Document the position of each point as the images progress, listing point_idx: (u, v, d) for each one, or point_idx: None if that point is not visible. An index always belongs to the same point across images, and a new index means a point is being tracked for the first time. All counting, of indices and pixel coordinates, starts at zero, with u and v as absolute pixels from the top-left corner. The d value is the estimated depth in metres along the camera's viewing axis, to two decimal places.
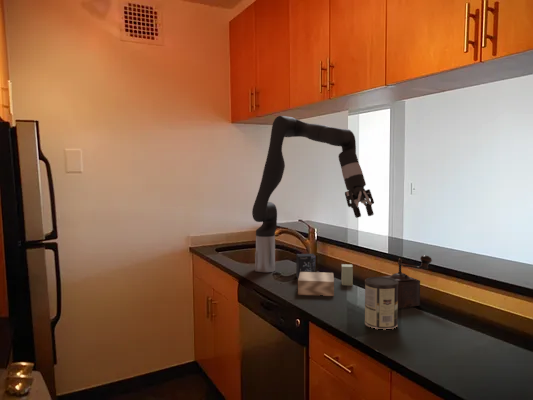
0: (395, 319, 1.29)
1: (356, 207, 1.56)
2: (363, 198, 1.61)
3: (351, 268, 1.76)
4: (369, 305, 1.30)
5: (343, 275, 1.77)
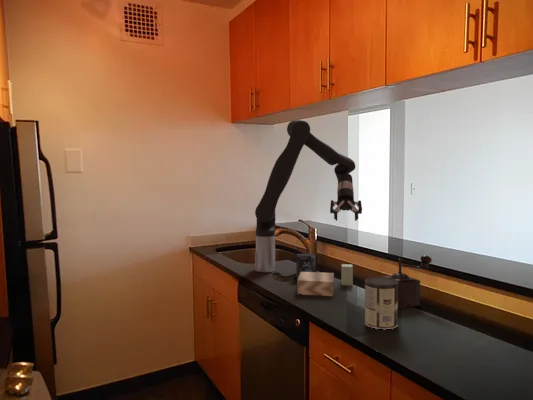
0: (395, 319, 1.29)
1: None
2: None
3: (351, 268, 1.76)
4: (369, 305, 1.30)
5: (343, 275, 1.77)
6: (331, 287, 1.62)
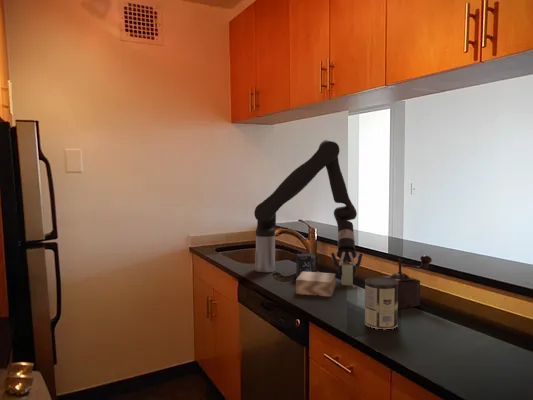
0: (395, 319, 1.29)
1: None
2: None
3: (351, 268, 1.76)
4: (369, 305, 1.30)
5: (343, 275, 1.77)
6: (329, 287, 1.61)
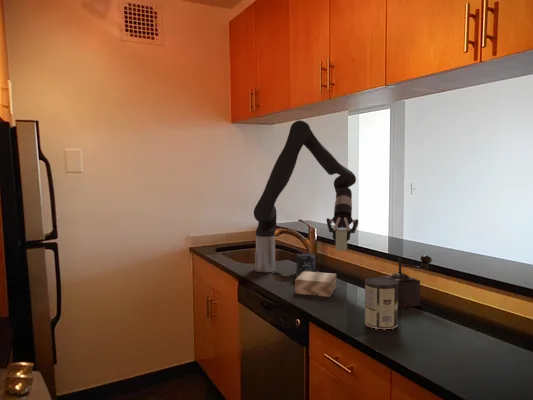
0: (395, 319, 1.29)
1: None
2: None
3: (345, 233, 1.72)
4: (369, 305, 1.30)
5: (337, 240, 1.73)
6: (328, 288, 1.61)
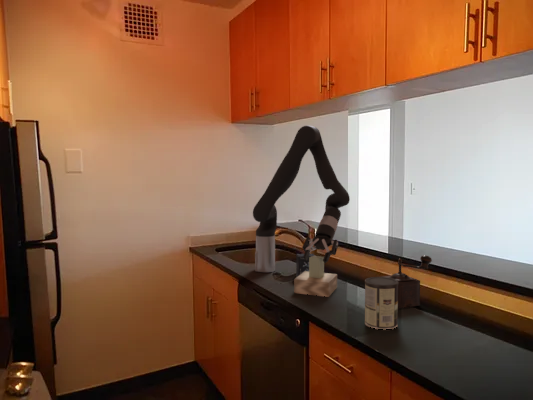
0: (395, 319, 1.29)
1: None
2: None
3: (318, 260, 1.66)
4: (369, 305, 1.30)
5: (310, 266, 1.68)
6: (326, 288, 1.61)
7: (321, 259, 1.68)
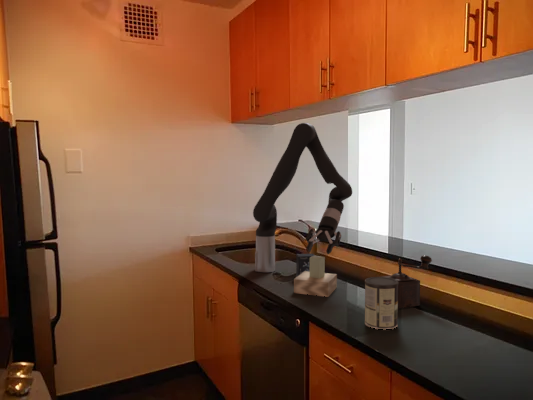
0: (395, 319, 1.29)
1: None
2: None
3: (318, 260, 1.66)
4: (369, 305, 1.30)
5: (310, 266, 1.69)
6: (326, 288, 1.61)
7: (321, 259, 1.68)
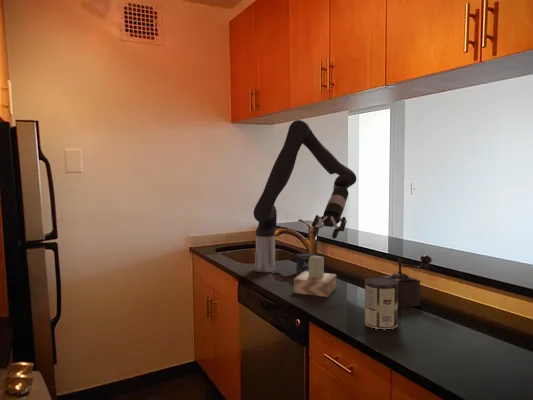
0: (395, 319, 1.29)
1: (337, 231, 1.74)
2: None
3: (317, 260, 1.66)
4: (369, 305, 1.30)
5: (310, 266, 1.69)
6: (326, 288, 1.61)
7: (321, 259, 1.68)
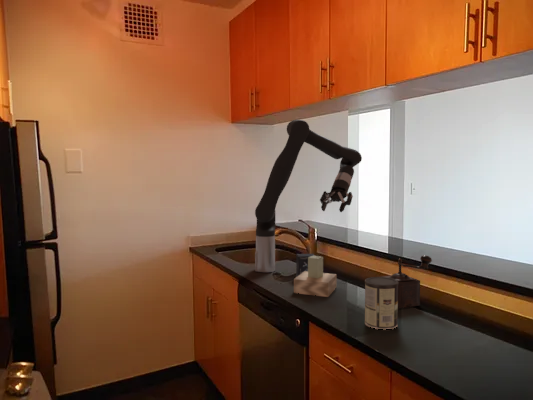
0: (395, 319, 1.29)
1: None
2: None
3: (316, 260, 1.67)
4: (369, 305, 1.30)
5: (309, 266, 1.69)
6: (326, 288, 1.61)
7: (320, 259, 1.68)
